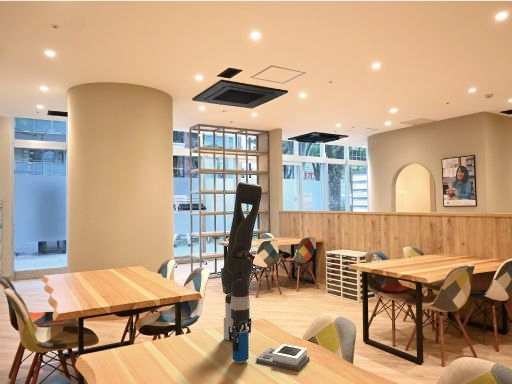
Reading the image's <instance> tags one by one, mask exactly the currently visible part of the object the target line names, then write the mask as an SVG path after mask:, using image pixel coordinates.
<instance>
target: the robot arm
mask: <svg viewBox="0 0 512 384" xmlns="http://www.w3.org/2000/svg"><path fill="white" fill-rule="evenodd" d="M235 190H236V191H235V196H234V206H233V207H234V208H233V216H232V221H231V226H230V231H229V237H228V242H227V243H228V244H227V251H226V256H225V259H224V263H223V268H222V271H221V276H220V277H221V278H220V279H221V285H222V286H223V287H224V288H225V289H230V290H231V292H229V293H227V294H226V295H225V296H224V297H225V299H224V301H225V302H224V304H225V305H224V306H225V314H224V315H225V317H224V318H223V339H224V340H226V341H227V342H229V343H232V342H233V351H234V352H238V351H239V342H238V341H239V337H240V336H241V332H242V331H243V330H247V331H248V337H249V334H251V332H252V318H251V316H250V315H251V314H250V301H251V300H250V291H249V290H250V289H249V288H250V280H251V276H252V272H253V268H254V262H253V259H252V258H251V257H250V256H242V255H243V254H244V253H247V252H248V253H249V252H250V251H251V250H252V249H251V248H252V244H253V235H254V229H255V227H256V226H255V225H256V222H257V217H258V213H259V208H260V204H261V200H262V195H263V188H262V186H261V185H260V184H256V183H250V182H245V181H244V182H243V181H240V182H239V183H238V184H237V186H236V189H235ZM242 204H244V205H250V206H251V209H250V211H249V213H248V214H247V215H246V216H245V214H244V212H243V206H242ZM235 332H239V333H238V334H236V333H235ZM236 336H237V338H236Z"/></svg>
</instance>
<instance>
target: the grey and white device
mask: <svg viewBox="0 0 512 384" xmlns="http://www.w3.org/2000/svg"><path fill="white" fill-rule="evenodd" d="M307 350H308V348H307V347H300V346H295V345H290V344H285V343H283V344H281V345H280V346H279V347H278V348H272V347H269V348H268V349H266V350H265V351H263V352H262V353H261V354H259V355H258V356H257V357H256V358H255V359H256V360H255V362H256V363H259V364H264V365H268V366H272V367H276V368H281V369H286V370H290V371H295V372H299V371H300V370H301V369H302V368H303V367H304V366H305V364H307V363H308V362H309V361H310V355H308V354H307V353H308V351H307Z"/></svg>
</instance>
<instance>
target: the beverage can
mask: <svg viewBox="0 0 512 384" xmlns="http://www.w3.org/2000/svg"><path fill="white" fill-rule="evenodd" d="M235 333H236V334H238V333H239V332H235ZM236 338H237V336H236ZM249 341H250V339H249V336H248V331H247V330H243V331H242V332H241V336H240V337H239V341H238V342H239V351H238V352H234V351H233V342H231V343H232V347H231V348H232V349H231V350H232V353H231V355H232V357H231V358H232V360H233V361H234V362H235V363H237V364H238V363H239V364H241V363H246V362H247V361H248V360H249V358H250V355H249V351H250V350H249V345H250V344H249Z"/></svg>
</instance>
